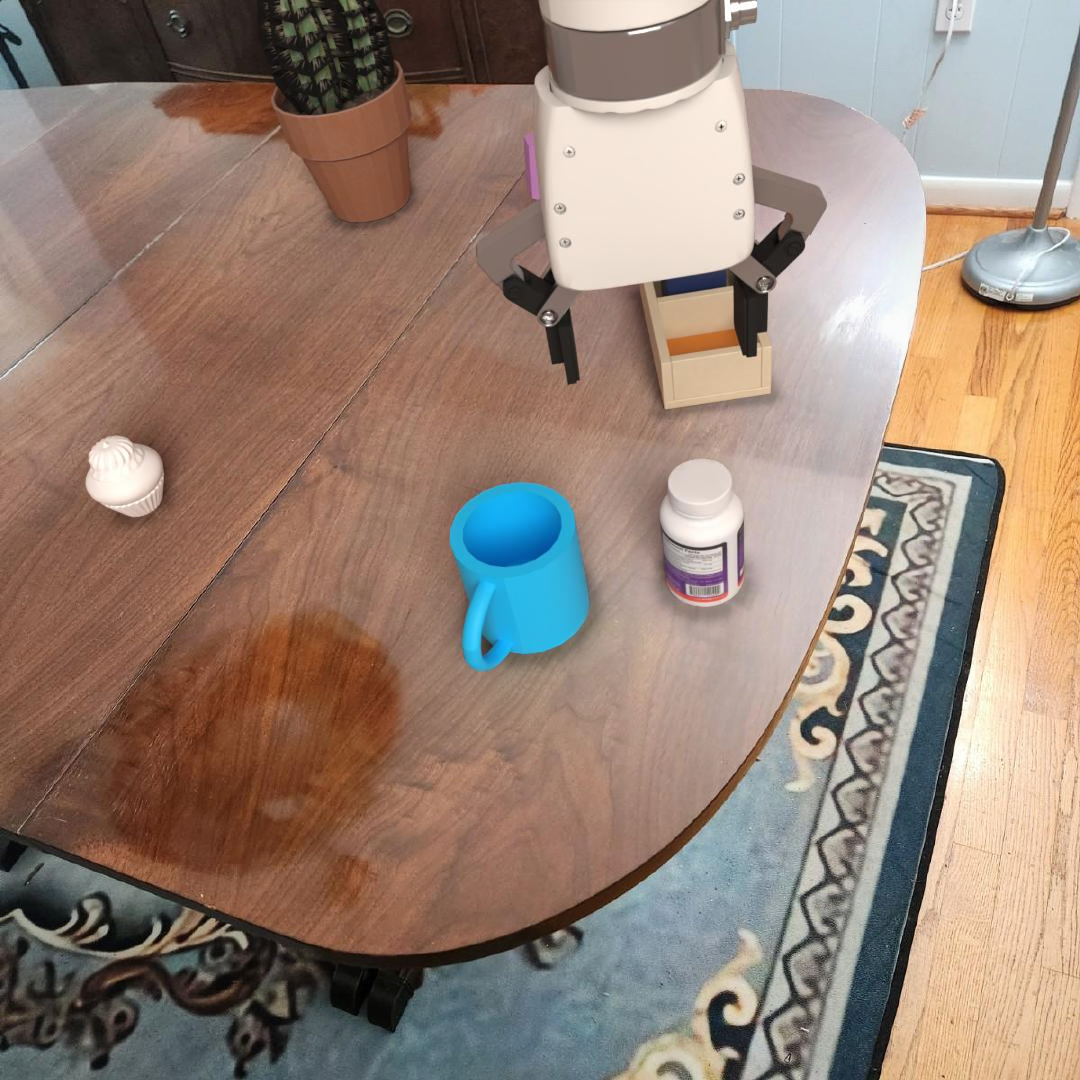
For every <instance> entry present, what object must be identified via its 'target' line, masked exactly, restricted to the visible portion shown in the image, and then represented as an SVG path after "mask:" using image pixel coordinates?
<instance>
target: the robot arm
mask: <svg viewBox="0 0 1080 1080" xmlns="http://www.w3.org/2000/svg"><path fill="white" fill-rule="evenodd" d="M757 2H758V1H757V0H538V4H539V5H538V6H539V11H540V17H541V24H542V25H541V26H542V32H543V39H544V47H545V54H546V59H547V65H545V66H544V67H543V68H542V69H540V70H539V71H538V72H537V74H535V77H534V83H533V100H532V101H533V102H532V113H533V115H532V120H533V122H532V123H533V125H532V126H533V127H532V129H533V133H534V145H535V158H536V167H537V175H538V185H539V195H540V199H539V200H537V199H536V201H535V202H532V204H530V205H529V206H527V207H525V208H524V209H523V210H521V211H520V212H518V213H517V214H515V215H514V216H512V217H511V218H510V219H508V220H507V221H505V222H504V223H503V224H501V225H499V226H498V227H497V228H495V229H494V230H492V231H491V232H490V233H488V234H487V235H485V236H484V237H483V238H481V239H480V240H478V241H477V243H476V246H475V260H476V264H477V266H478V267H479V269H481V270H482V272H483V273H484V274H485V275H486V276H487V277H488V278H489V279H490V280H491V282H492V283H493V284H494V285H495V286H498V288H499V289H500V290H501V291H502V294H503V296H504V298H506V300H507V301H509V302H511V303H513V304H514V305H516V306H518V307H519V308H521V309H523V310H525V311H527V312H528V313H530V314H532V315H533V316H535V317H536V320H537V323H538V324H539V325H541V326H542V327H544V329H545V336H546V340H547V346H548V350H549V357H550V362H551V365H552V366H553V365H560V364H563V365H564V372H565V378H566V383H567V386H569V385H576V384H578V382H580V381H581V376H580V368H579V361H578V352H577V345H576V344H577V343H576V338H575V333H574V325H573V318H572V312H571V306H572V305H573V304H574V302H575V301H576V299H577V298H578V297H579V295H580V294H581V292H590V291H591V292H593V291H600V290H607V289H613V288H621V287H626V286H632V285H639V284H640V283H647V282H653V281H659V280H665V279H672V278H678V277H684V276H690V275H697V274H703V273H709V272H714V271H719V270H723V269H727V268H728V269H730V270H731V271H732V272H733V302H734V328H735V331H736V335H737V338H738V341H739V345H740V348H741V351H742V355H743V356H745V355H746V357H747V358H749V357H756V356H757V333H763V332H767V333H768V324H769V323H768V320H769V319H768V318H769V316H768V315H769V293H771V292H772V291H773V290H774V289H775V288H776V285H777V278H778V277H779V276H780V275H781V274H782V273H783V272H784V271H785V270H786V269H787V268H788V267H789V266H790V265H791V264H792V263H793V262H794V261H795V260H796V259H797V258H798V257H799V256H800V255H802V253H803V252H804V251H805V249H806V241H807V239H808V238H809V236H811V235H812V233H813V232H814V230H815V228H816V227H817V226H818V224H819V222H820V220H821V218H822V217H823V215H824V213H825V212H826V210H827V207H828V202H827V200H826V197H825V196H824V194H823V191H822V189H821V187H820V186H819V185H816V184H813V183H810V182H807V181H804V180H801V179H798V178H795V177H791V176H788V175H784V174H782V173H778V172H775V171H772V170H770V169H766V168H763V167H760V166H756V165H753V161H752V149H751V148H752V147H751V138H750V137H751V136H750V129H749V128H750V127H749V121H748V115H747V106H746V98H745V92H744V87H743V86H744V85H743V81H742V80H743V79H742V74H741V70H740V64H739V60H738V57H737V53H736V48H735V45H733V43H732V42H731V41H729V40H730V38H731V32H732V31H737V30H739V29H740V26H746V25H751V24H756V22H757V19H758V3H757ZM755 204H757V205H761V206H764V207H767V208H771V209H773V210H777V211H779V212H780V211H781V212H784V213H785V214H784V218H783V220H782V221H780V222H778V223H777V225H775V226H774V228H773V229H771V231H770V232H768V234H767V235H765V237H764V238H763V239H762V240H761V241H758V240H757V239H756V205H755ZM543 238H544V239H545V245H546V250H547V255H548V261H549V263H548V265H547V266H546V268H545V269H544V271H543V272H542V274H541V275H540V276H538V275H537V274H536V273H533V272H532V271H531V270H529V269H527V268H526V267H524V266H522V265H520V264H518V263H517V262H516V261H515V259H514V258H515V257H516V256H518V255H519V254H521V253H522V252H524V251H525V250H527V249H528V248H530V247H531V246H533V245H534V244H536V243H537V242H539V241H541V240H542V239H543Z"/></svg>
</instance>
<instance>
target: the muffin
mask: <svg viewBox="0 0 1080 1080" xmlns="http://www.w3.org/2000/svg"><path fill="white" fill-rule="evenodd" d="M87 457H88V463H89V469H88V471H87V474H86V476H85V488H86V491H87V493H88V495H89V496H90V497H91V498H92V500H95V502H98V503H100V504H101V505H103V506H105V507H106V508H107V509H110V510H113V511H115V512H117V513H119V514H122V515H124V516H128V517H131V518H141V517H144V516H148V515H149V514H151V513H152V512H154V511H156V509H158V507H159V506H160V504H162V501H163V492H164V483H165V482H164V480H165V478H164V477H165V472H164V464H163V460H162V458H161V455H160V453H158V452H157V451H156V450H155V449H153V448H152V447H151V446H148V445H145V444H141V443H136V442H135V443H134V442H133V441H131V439H129V438H128V437H125V436H122V435H117V434H115V435H108V436H106V437H105V438H101V439H100V441H96V442H95V445H92V447H91V448H90V451H89V452H88V456H87Z"/></svg>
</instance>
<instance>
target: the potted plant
mask: <svg viewBox="0 0 1080 1080" xmlns="http://www.w3.org/2000/svg"><path fill="white" fill-rule="evenodd" d="M256 16H257V17H256V19H257V36H258V41H259V43H260V45H261V49H262V51H263V53H264V57H265V59H266V62H267V65H268V67H269V71H270V74H271V75H272V78H273V81H274V84H275V86H276V87H275V88H274V89H273V92H272V94H271V97H270V102H271V106H272V109H273V111H274V114H275V116H276V119H277V121H278V123H279V125H280V128H281V130H282V133H283V135H284V137H285V140H286V142H287V145H288V147H289V150H290V151H291V152H292V153H293V154H295V155H296V156H297V157H299V158H301V160H302V162H303V164H304V165H305V167H306V168H307V170H308V172H309V174H310V175H311V177H312V179H313V180H314V182H315V184H316V186H317V187H318V189H319V191H320V192H321V194H322V196H323V198H324V199H325V201H326V203H327V204H328V206H329V208H330V209H331V211H332V213H333V215H334V216H335V217H337V218H338V219H339V220H342V221H345V222H349V223H361V224H362V223H369V222H370V223H371V222H375V221H378V220H381V219H384V218H387V217H389V216H391V215H393V214H395V213H397V212H398V211H399V210H400V209H402V208H403V207H404V206H405V205H406V204H407V202H408V201H409V200H410V199H411V193H412V185H411V184H412V183H411V169H410V153H409V137H408V135H409V134H408V128H409V126H410V125H411V121H412V116H413V114H412V109H411V106H410V105H411V103H410V99H409V93H408V89H407V84H406V79H405V75H404V69H403V68H402V66H401V64H400V62H399V61H397V60H396V59H394V54H393V50H392V45H391V40H390V37H389V31H388V25H387V22H386V19H385V17H384V15H383V13H382V11H381V10H380V8H379V6H378V4H377V3H376V0H256Z"/></svg>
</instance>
